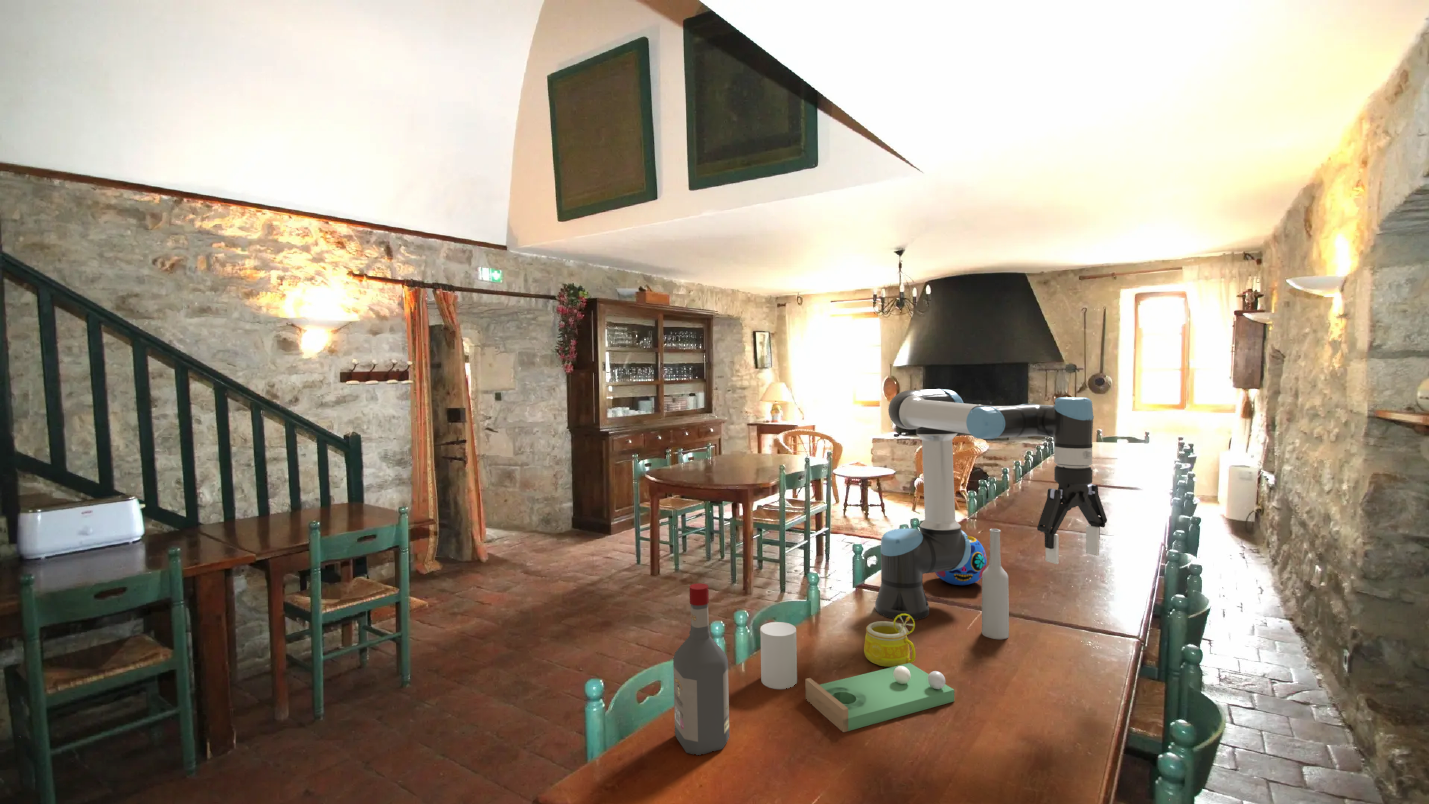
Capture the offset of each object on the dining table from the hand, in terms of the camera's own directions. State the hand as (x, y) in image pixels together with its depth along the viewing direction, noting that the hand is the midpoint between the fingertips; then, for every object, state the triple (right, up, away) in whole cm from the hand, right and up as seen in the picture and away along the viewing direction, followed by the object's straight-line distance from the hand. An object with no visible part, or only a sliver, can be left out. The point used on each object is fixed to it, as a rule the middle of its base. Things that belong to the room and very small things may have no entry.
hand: (1072, 558), depth 145 cm
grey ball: (-34, -24, -10) cm, 43 cm away
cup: (-67, -28, +1) cm, 73 cm away
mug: (-39, -28, +9) cm, 49 cm away
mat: (-46, -28, -9) cm, 55 cm away
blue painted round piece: (-1, -25, +65) cm, 70 cm away
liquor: (-84, -30, -23) cm, 92 cm away
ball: (-41, -24, -7) cm, 48 cm away
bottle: (-7, -26, +24) cm, 36 cm away
